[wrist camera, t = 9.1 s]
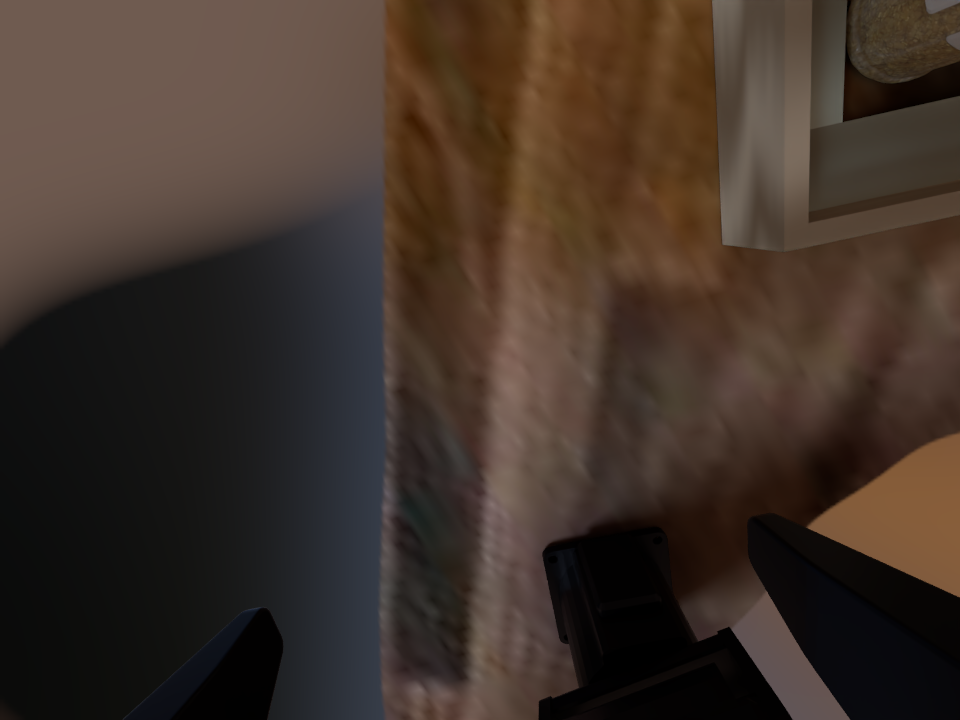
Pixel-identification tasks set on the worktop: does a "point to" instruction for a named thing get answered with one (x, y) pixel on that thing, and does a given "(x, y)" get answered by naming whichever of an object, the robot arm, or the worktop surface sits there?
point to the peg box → (817, 135)
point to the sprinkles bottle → (902, 37)
